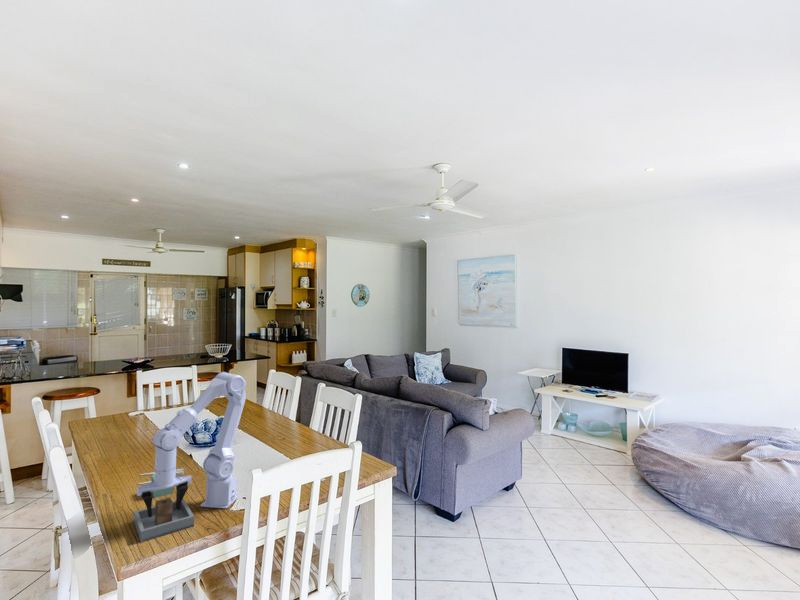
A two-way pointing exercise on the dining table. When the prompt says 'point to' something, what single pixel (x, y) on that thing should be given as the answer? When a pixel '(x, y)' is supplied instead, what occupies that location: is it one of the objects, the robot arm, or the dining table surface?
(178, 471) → the pliers
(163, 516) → the walnut block
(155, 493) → the green block
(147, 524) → the tray
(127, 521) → the dining table surface
